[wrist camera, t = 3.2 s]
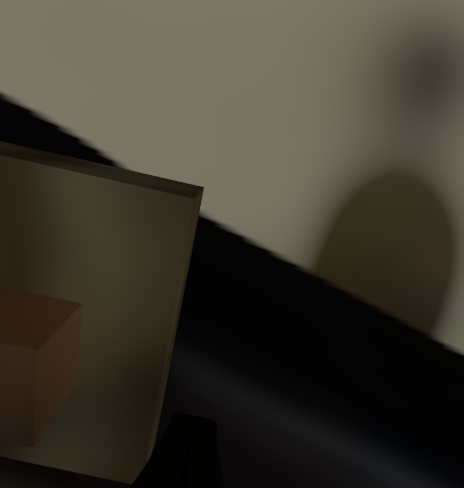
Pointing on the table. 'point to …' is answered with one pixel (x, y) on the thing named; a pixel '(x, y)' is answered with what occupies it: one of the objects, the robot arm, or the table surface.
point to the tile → (35, 361)
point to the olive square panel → (100, 296)
